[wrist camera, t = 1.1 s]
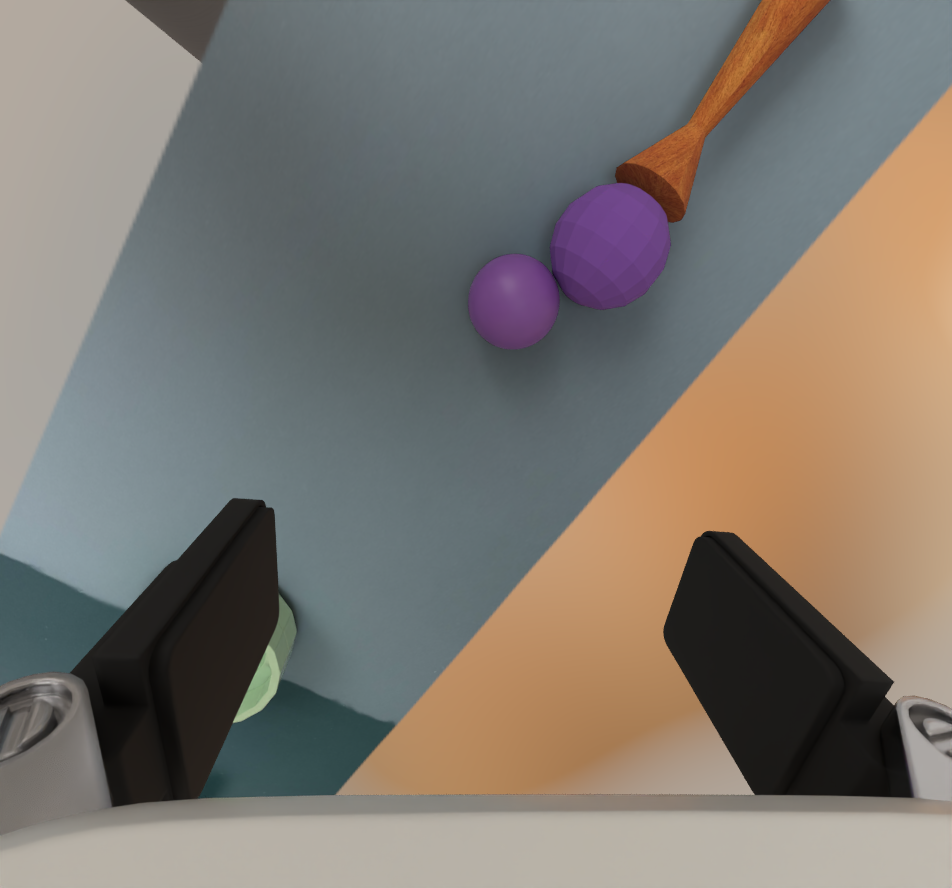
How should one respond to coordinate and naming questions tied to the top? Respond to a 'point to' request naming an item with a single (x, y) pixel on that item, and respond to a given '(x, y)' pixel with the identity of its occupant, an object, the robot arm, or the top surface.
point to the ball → (513, 301)
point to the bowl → (270, 665)
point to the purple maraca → (661, 178)
